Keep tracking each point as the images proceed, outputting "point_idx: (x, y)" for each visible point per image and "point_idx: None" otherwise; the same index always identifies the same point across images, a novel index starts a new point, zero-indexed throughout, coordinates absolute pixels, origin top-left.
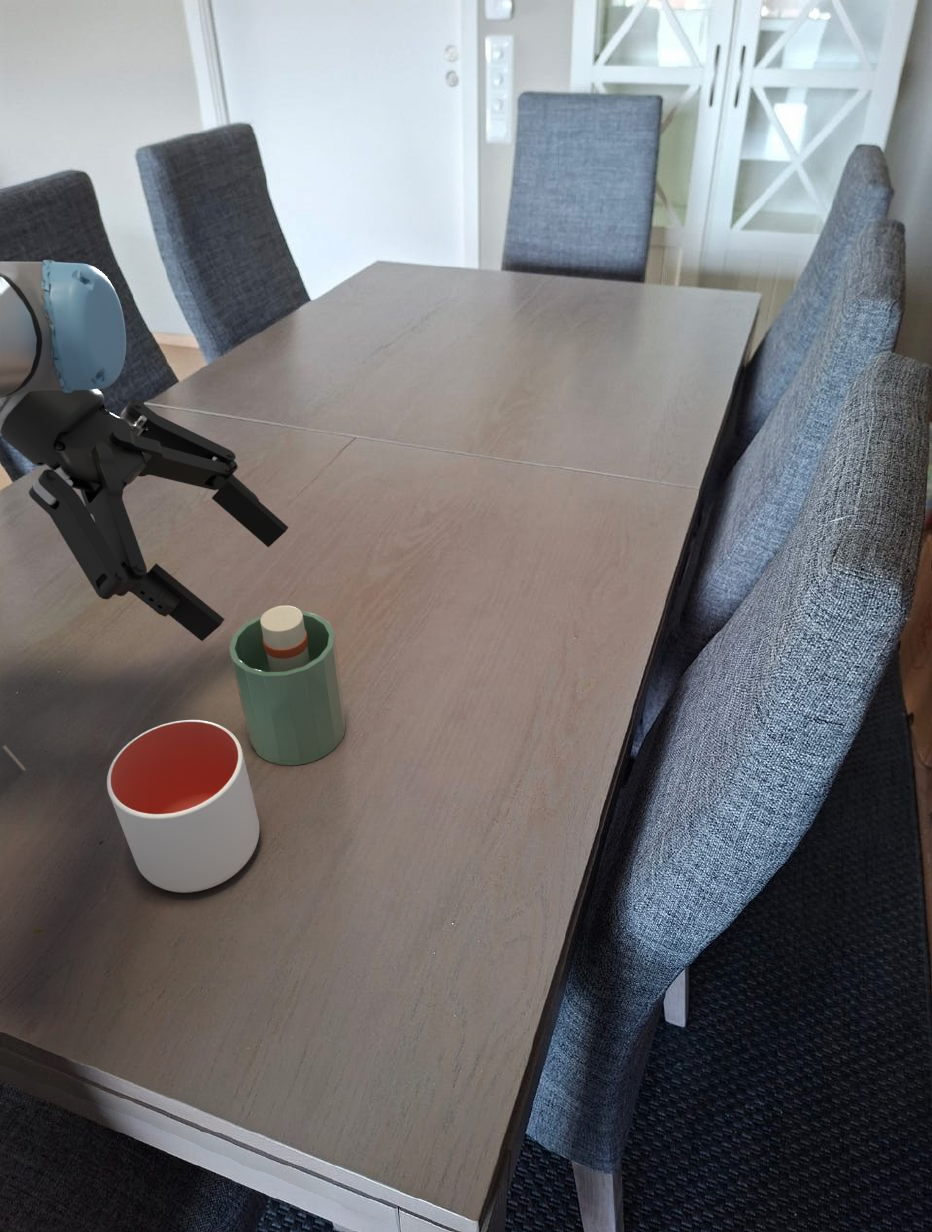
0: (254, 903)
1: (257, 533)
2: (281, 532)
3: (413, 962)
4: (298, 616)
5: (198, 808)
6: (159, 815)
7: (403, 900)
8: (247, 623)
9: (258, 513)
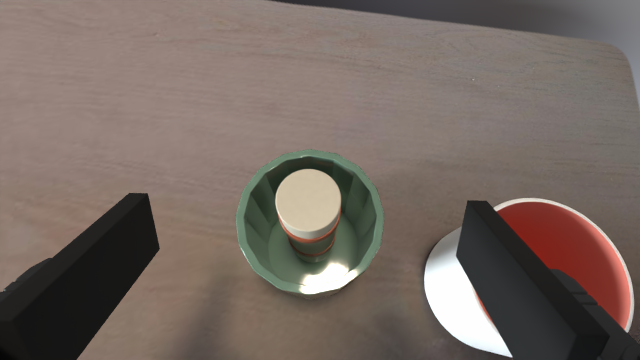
0: None
1: (140, 263)
2: (147, 203)
3: (510, 96)
4: (300, 175)
5: (590, 220)
6: (621, 258)
7: (467, 112)
8: (276, 283)
9: (110, 243)
